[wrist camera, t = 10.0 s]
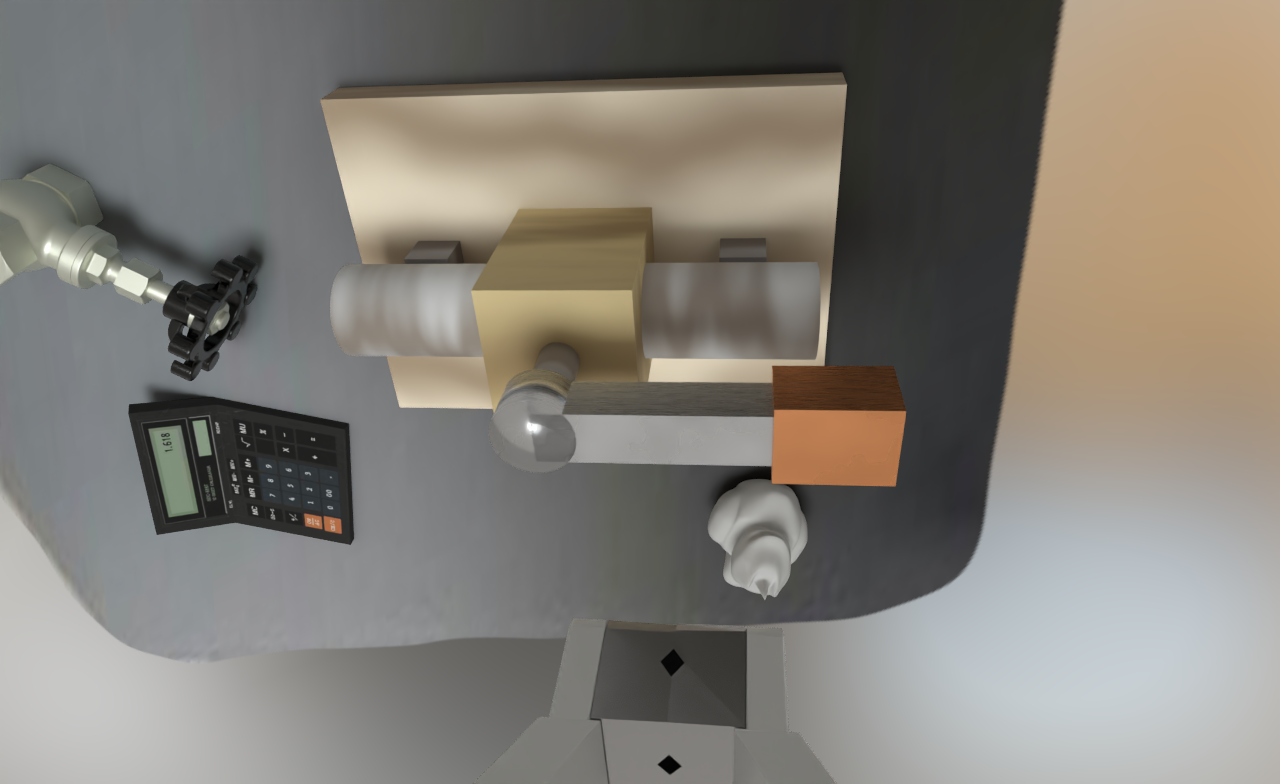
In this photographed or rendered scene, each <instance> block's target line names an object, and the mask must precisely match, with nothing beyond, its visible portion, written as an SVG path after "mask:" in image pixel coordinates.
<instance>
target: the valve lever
mask: <svg viewBox="0 0 1280 784" xmlns="http://www.w3.org/2000/svg"><path fill="white" fill-rule="evenodd" d="M905 417H906V408H905V405H904V401H903V398H902V394H901V390H900V387H899V383H898V380H897V376H896V372H895V369H894V366H772V383H734V382H606V381H571V380H570V379H568V378H567V377H565V376H564V375H562V374H560V373H557V372H554V371H551V370H546V369H531V370H527V371H523V372H521V373H519V374H517V375H516V376H514V377H513V378H512V379H511V380H510V381H509V382H508V383H507V385H506V387H505V389H504V391H503V394H502V396H501V398H500V401H499V403H498V405H497V408H496V410H495V412H494V415H493V417H492V419H491V422H490V425H489V439H490V443H491V445H492V447H493V449H494V450H495V452H496V453H497V454H498V455H499V456H500V457H501V458H502V459H503V460H504V461H505V462H506V463H508V464H510V465H511V466H513V467H515V468H517V469H520V470H523V471H527V472H532V473H545V472H551V471H554V470H557V469H559V468H561V467H563V466H564V465H565V464H567V463H568V462H582V463H634V464H685V465H737V466H771V481H772V484H813V485H859V486H896V479H897V472H898V465H899V458H900V451H901V444H902V437H903V430H904V424H905Z"/></svg>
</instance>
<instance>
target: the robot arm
mask: <svg viewBox="0 0 1280 784" xmlns="http://www.w3.org/2000/svg"><path fill="white" fill-rule="evenodd" d="M788 723H789V722H788V702H787V682H786V661H785V641H784V633H783V630H782V629H781V628H760V627H747V628H745V626H725V625H695V624H677V625H668V624H654V623H641V622H627V621H613V620H595V619H578V618H574V619H573V621H572V623H571V625H570V627H569V630H568V634H567V639H566V643H565V648H564V652H563V657H562V661H561V666H560V670H559V675H558V679H557V684H556V688H555V693H554V697H553V702H552V707H551V711H550V715H549V717H538V718H537V719H536V721H534V722H533V723H532V724H531V725H530V726H529V727H528V728H527V729H526V730H525V731H524V732H523V734H522V735H521V736H520V737H519V738H518V739H517V740H516V741H515V742H514V743H513V744H512V745H511V746H510V747H509V748H508V749H507V750H506V751H505V752H504V753H503V754H502V755H501V756H500V757H499V758H498V759H497V760H496V761H495V762H494V763H493V764H492V765H491V766H490V767H489V768H488V769H487V770H486V771H485V772H484V773H483V774H482V775H481V776H480V777H479V778H478V779H477V780H476V781H475V782H474V783H473V784H837V783H836V782H835V780H834V779H833V777H832V776H831V775H830V773H829V772H828V771H827V769H826V768H825V766H824V765H823V764H822V762H821V761H820V760H819V758H818V757H817V756H816V754H815V753H814V751H813V750H812V749H811V747H810V746H809V745H808V743H807V742H806V740H805V739H804V738H803V737H802V735H801V734H800V733H797V732H789V724H788Z"/></svg>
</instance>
